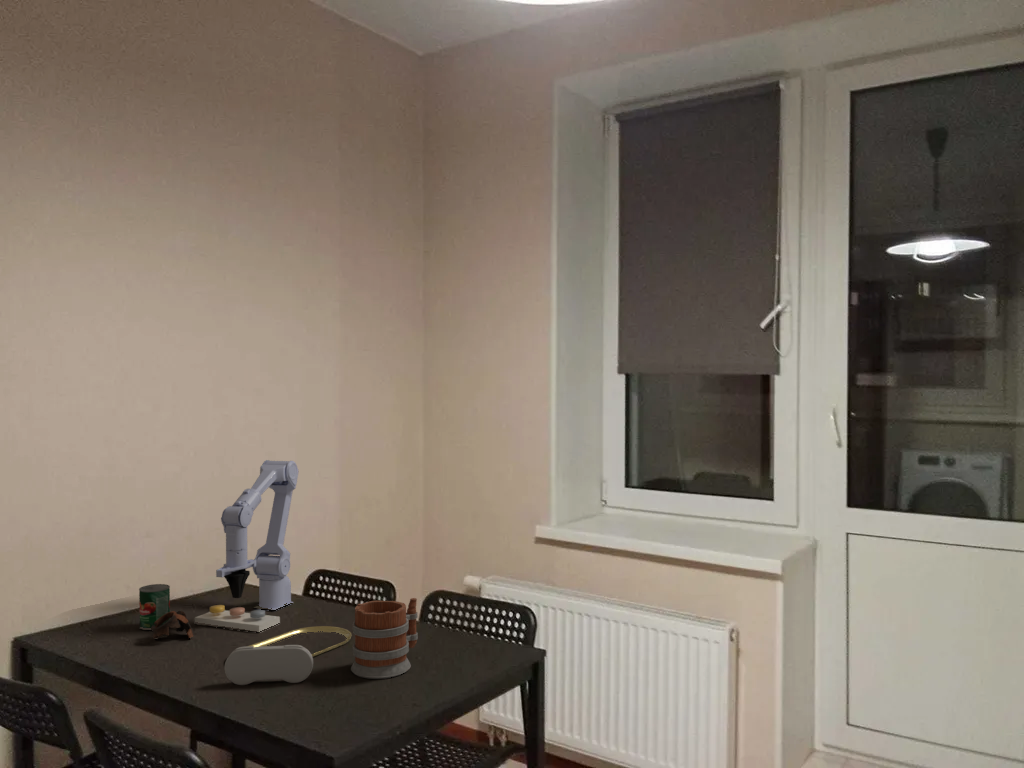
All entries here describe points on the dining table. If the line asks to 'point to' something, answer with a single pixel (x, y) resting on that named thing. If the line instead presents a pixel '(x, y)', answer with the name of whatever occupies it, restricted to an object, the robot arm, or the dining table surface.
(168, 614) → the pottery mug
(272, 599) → the robot arm
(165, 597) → the canned tomato
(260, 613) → the button slate
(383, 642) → the mug
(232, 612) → the button terracotta
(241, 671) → the game controller
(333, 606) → the dining table surface
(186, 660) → the dining table surface
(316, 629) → the u-shaped metal loop
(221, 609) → the button amber
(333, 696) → the dining table surface
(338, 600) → the dining table surface
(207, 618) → the button panel
